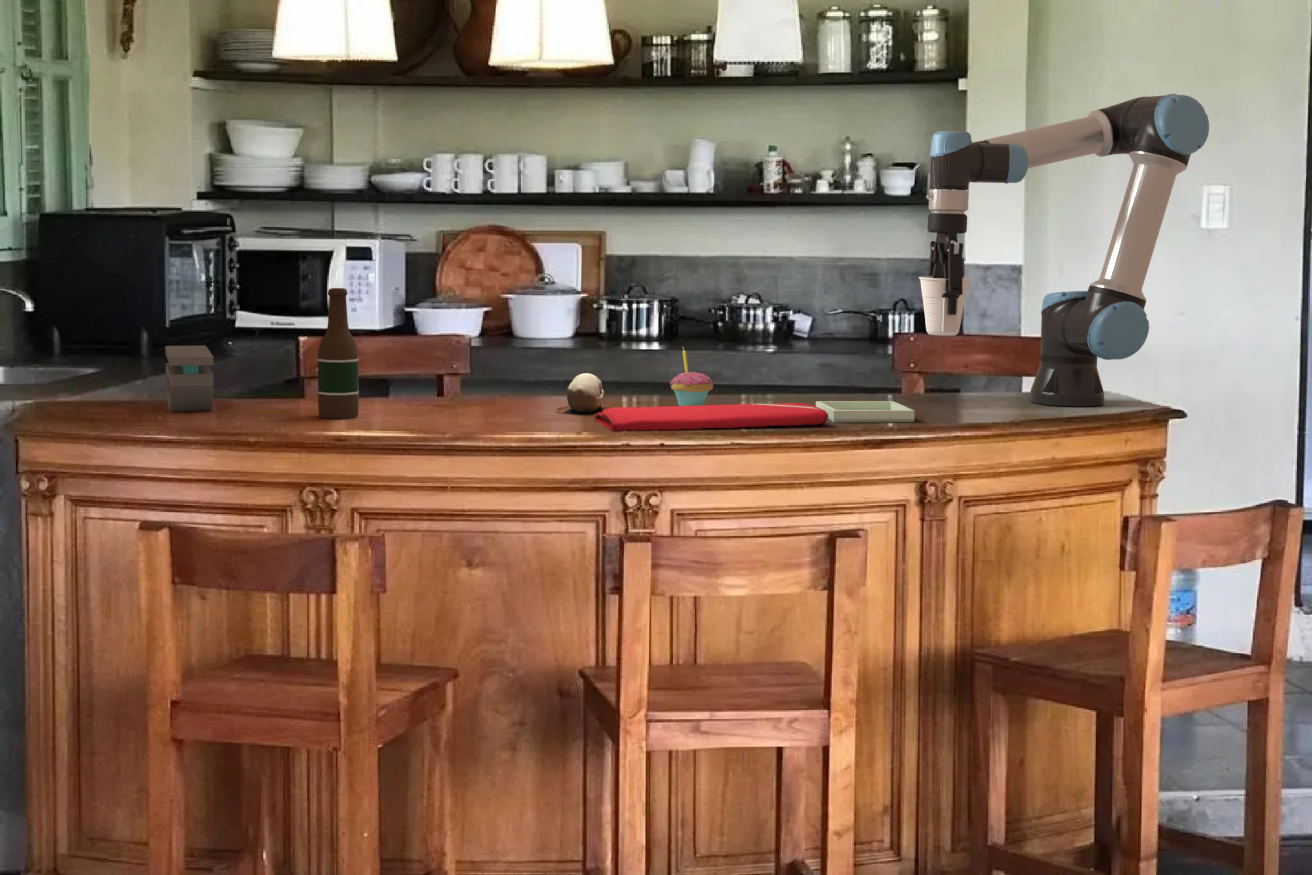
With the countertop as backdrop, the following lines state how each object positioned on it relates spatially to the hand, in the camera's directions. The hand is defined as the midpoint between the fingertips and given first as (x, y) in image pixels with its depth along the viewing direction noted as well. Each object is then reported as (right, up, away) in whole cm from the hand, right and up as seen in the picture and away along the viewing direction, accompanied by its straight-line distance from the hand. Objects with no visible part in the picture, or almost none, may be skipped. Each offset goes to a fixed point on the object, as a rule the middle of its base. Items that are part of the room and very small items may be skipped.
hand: (942, 330), depth 362 cm
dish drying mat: (-45, -19, -16) cm, 52 cm away
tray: (-16, -17, -3) cm, 23 cm away
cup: (0, -1, 0) cm, 1 cm away
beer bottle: (-115, -17, -13) cm, 117 cm away
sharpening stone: (-146, -15, -1) cm, 147 cm away
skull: (-69, -16, 0) cm, 71 cm away
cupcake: (-48, -15, +10) cm, 52 cm away
